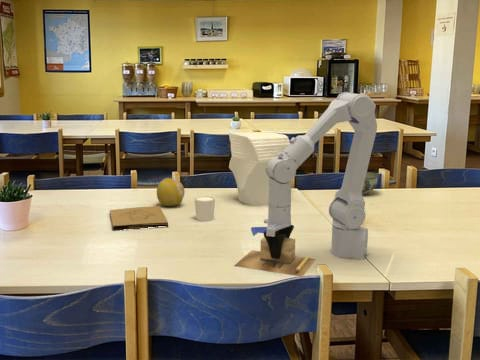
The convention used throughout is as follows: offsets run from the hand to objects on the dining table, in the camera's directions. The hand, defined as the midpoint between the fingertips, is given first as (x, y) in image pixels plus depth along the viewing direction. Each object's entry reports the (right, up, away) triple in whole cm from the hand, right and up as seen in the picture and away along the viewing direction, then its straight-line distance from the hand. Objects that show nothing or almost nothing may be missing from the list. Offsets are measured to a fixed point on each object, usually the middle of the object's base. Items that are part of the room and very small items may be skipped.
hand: (278, 255), depth 143 cm
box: (-44, +6, +40) cm, 60 cm away
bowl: (+39, +14, +79) cm, 89 cm away
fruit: (-35, +10, +59) cm, 69 cm away
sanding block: (0, -1, 0) cm, 1 cm away
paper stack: (0, +11, +66) cm, 67 cm away
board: (-1, -3, -1) cm, 3 cm away
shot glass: (-22, +6, +42) cm, 48 cm away
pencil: (+6, -2, -3) cm, 7 cm away
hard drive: (-2, +2, +24) cm, 25 cm away
